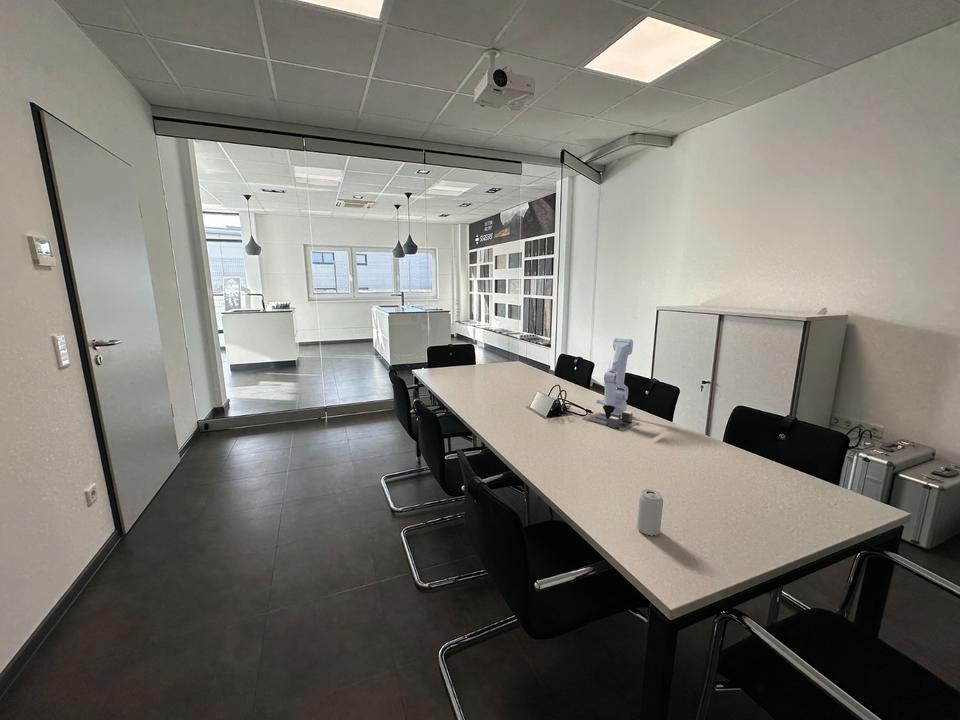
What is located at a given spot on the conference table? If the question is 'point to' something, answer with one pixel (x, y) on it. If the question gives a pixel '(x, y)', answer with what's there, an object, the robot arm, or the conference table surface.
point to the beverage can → (650, 512)
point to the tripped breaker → (615, 415)
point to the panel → (602, 420)
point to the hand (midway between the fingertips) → (608, 418)
